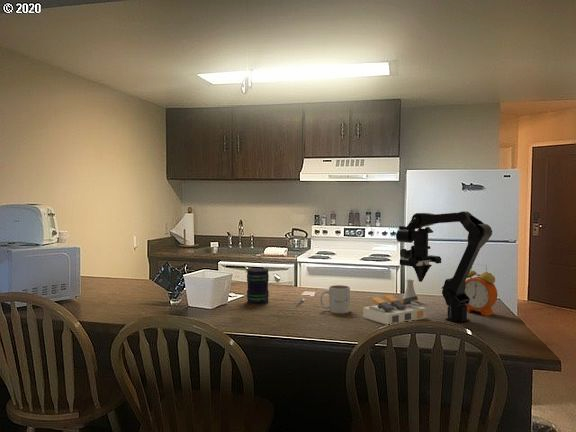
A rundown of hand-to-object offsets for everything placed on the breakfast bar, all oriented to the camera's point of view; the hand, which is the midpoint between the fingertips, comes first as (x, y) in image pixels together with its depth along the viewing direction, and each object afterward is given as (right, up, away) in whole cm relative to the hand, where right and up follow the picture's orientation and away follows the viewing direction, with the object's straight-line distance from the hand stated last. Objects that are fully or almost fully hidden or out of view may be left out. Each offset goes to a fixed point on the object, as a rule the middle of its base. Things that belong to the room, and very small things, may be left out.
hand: (420, 281), depth 194 cm
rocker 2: (-13, -9, -7) cm, 17 cm away
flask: (+2, -13, +23) cm, 26 cm away
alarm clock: (+24, -13, +1) cm, 28 cm away
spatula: (-47, -13, +27) cm, 55 cm away
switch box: (-12, -13, -7) cm, 19 cm away
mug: (-34, -13, +5) cm, 37 cm away
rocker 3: (-6, -9, -4) cm, 12 cm away
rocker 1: (-18, -9, -10) cm, 23 cm away
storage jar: (-68, -13, +21) cm, 72 cm away
